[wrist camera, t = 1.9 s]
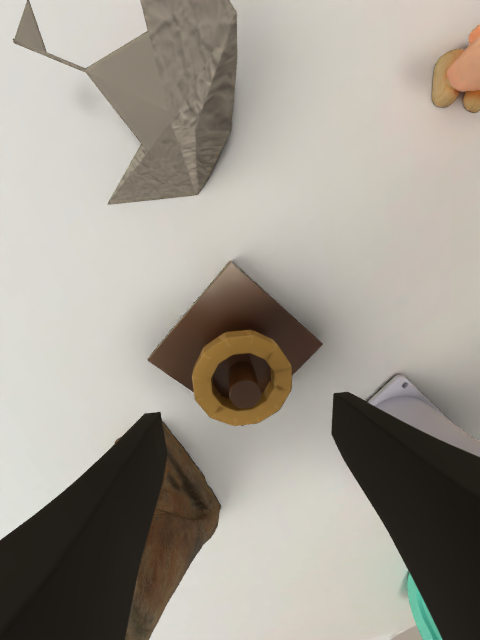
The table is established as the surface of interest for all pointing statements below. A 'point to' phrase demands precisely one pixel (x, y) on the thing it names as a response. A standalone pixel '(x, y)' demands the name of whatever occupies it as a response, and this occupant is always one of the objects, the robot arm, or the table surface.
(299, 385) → the table surface
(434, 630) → the decorative dice
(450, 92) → the grandmother figurine
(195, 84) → the paper boat
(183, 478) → the worn brown figurine
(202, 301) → the peg stand
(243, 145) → the table surface
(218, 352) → the brass ring
